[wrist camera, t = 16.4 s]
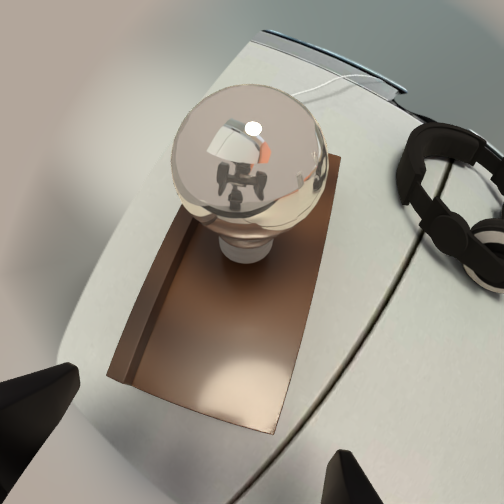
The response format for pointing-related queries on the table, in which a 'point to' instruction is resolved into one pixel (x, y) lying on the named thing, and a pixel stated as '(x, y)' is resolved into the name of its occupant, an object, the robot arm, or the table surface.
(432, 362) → the table surface
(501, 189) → the headphones
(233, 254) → the light bulb
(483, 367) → the table surface
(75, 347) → the table surface
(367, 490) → the robot arm
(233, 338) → the brown wooden tray
